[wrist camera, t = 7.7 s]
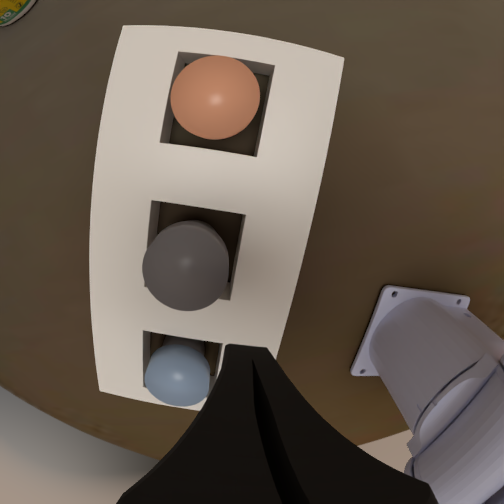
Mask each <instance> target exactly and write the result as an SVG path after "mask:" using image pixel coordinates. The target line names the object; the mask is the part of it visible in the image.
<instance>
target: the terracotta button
mask: <svg viewBox="0 0 504 504" xmlns="http://www.w3.org/2000/svg"><path fill="white" fill-rule="evenodd" d="M259 102H260V90H259V85H258V82H257V80H256V77H255V76H254V74H253V73H252V71H251V70H250V69H249V68H248V67H247V66H246V65H244V64H243V63H242V62H240V61H238V60H236V59H234V58H231V57H227V56H219V55H215V56H207V57H203V58H200V59H198V60H195V61H194V62H192V63H190V64H189V65H187V66H186V67H185V68H184V69H183V70H182V71H181V72H180V73H179V75H178V76H177V78H176V79H175V81H174V84H173V86H172V90H171V107H172V111H173V114H174V116H175V118H176V119H177V121H178V122H179V123H180V125H181V126H182V127H183V128H185V129H186V130H187V131H189V132H190V133H192V134H194V135H196V136H199V137H202V138H205V139H211V140H220V139H226V138H229V137H232V136H234V135H236V134H238V133H240V132H241V131H242V130H244V129H245V128H246V127H247V126H248V124H249V123H250V122H251V120H252V119H253V117H254V116H255V114H256V112H257V109H258V106H259Z"/></svg>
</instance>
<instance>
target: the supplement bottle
mask: <svg viewBox="0 0 504 504" xmlns="http://www.w3.org/2000/svg"><path fill="white" fill-rule="evenodd" d="M35 2H36V0H0V26H6V25H9V24H11V23H13V22H14V21H16V20H17V19H19V18H20V17H22V16H23V15H24V14H25V13H26V12H27V11H28V10H29V9H30V8H31V7H32V6H33V4H34V3H35Z"/></svg>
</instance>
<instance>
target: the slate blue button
mask: <svg viewBox="0 0 504 504" xmlns="http://www.w3.org/2000/svg"><path fill="white" fill-rule="evenodd" d="M204 352H205V345H204V342H203V341H202V340H197V339H190V338H184V337H178V336H172V335H167V336H166V337H165V339H164V342H163V345H162V347H160V348H159V349H157V350H156V351H155V352H154V353H153V354H152V356H151V358H150V361H149V364H148V367H147V370H146V373H145V384H146V387H147V389H148V390H149V392H150V393H151V394H152V395H153V396H154V397H155V398H157V399H158V400H160V401H162V402H164V403H166V404H169V405H173V406H180V407H185V406H192V405H195V404H197V403H199V402H201V401H202V400H203V399H204V398H205V397H206V396H207V394H208V391H209V380H210V366H209V363H208V361H207V360H206V358H205V357H204Z"/></svg>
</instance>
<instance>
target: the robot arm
mask: <svg viewBox="0 0 504 504" xmlns="http://www.w3.org/2000/svg"><path fill="white" fill-rule="evenodd" d="M394 291H395V294H394V295H392V293H393V292H394ZM469 302H470V298H469V297H468V296H466V295H459V294H451V293H443V292H436V291H428V290H421V289H414V288H406V287H399V286H392V285H387V286H385V287H384V288H383V289H382V291H381V293H380V296H379V299H378V302H377V305H376V307H375V310H374V313H373V315H372V318H371V321H370V323H369V326H368V328H367V331H366V333H365V336H364V338H363V341H362V343H361V346H360V348H359V351H358V353H357V355H356V358H355V360H354V362H353V365H352V367H351V369H350V371H351V374H352V375H353V376H380V377H381V379H382V381H383V382H384V384H385V386H386V387H387V389H388V391H389V393H390V394H391V396H392V398H393V400H394V401H395V403H396V405H397V407H398V408H399V410H400V412H401V414H402V415H403V417H404V419H405V421H406V423H407V424H408V426H409V428H410V430H411V432H412V433H413V435H414V436H413V437H412V439H411V440H410V441H409V442H408V443H407V446H408V448H409V450H410V452H411V454H412V456H413V457H412V458H410V460H409V461H408V462H407V464H406V466H405V470H404V473H402V472H400V471H398V470H396V469H393V468H392V467H390V466H388V465H386V464H384V463H383V462H381V461H379V460H377V459H376V458H374V457H372V456H371V455H369V454H368V453H366V452H365V451H363V450H362V449H360V448H359V447H357V446H356V445H355V444H353V443H352V442H350V441H349V440H348V439H346V438H345V437H344V436H343V435H341V434H340V433H339V432H338V431H337V430H336V429H334V428H333V427H332V426H331V425H330V424H329V423H328V422H327V421H325V420H324V419H323V418H322V417H321V416H320V415H319V414H318V413H317V412H316V411H315V410H314V409H313V407H312V406H311V405H310V404H309V403H308V402H307V401H306V400H305V398H304V397H303V396H302V395H301V394H300V392H299V391H298V390H297V389H296V387H295V386H294V385H293V384H292V382H291V381H290V380H289V378H288V377H287V376H286V374H285V373H284V371H283V370H282V368H281V367H280V366H279V364H278V363H277V361H276V360H275V358H274V357H273V355H272V354H271V352H270V351H269V350H268V348H267V347H258V346H248V345H239V344H231V343H229V344H227V345H226V346H225V349H224V355H223V360H222V366H221V370H220V372H219V375H218V377H217V380H216V382H215V384H214V386H213V388H212V390H211V392H210V394H209V396H208V398H207V400H206V402H205V403H204V405H203V407H202V408H201V410H200V412H199V413H198V415H197V416H196V418H195V419H194V421H193V422H192V424H191V425H190V426H189V428H188V429H187V430H186V432H185V433H184V434H183V435H182V437H181V438H180V439H179V441H178V442H177V443H176V444H175V445H174V447H173V448H172V449H171V450H170V451H169V452H168V453H167V454H166V455H165V456H164V457H163V458H162V459H161V460H160V461H159V462H158V464H156V465H155V467H154V468H153V469H151V470H150V471H149V472H148V473H147V474H146V475H145V476H144V477H142V478H141V479H140V480H139V481H138V482H137V483H135V484H134V485H133V486H132V487H131V488H129V489H128V490H127V491H126V492H124V493H123V494H122V496H121V497H120V499H119V500H118V502H117V503H116V504H504V341H503V340H502V339H501V338H500V337H499V336H498V335H497V334H496V333H494V332H493V331H492V330H491V329H490V328H489V327H488V326H486V325H485V324H484V323H483V322H482V321H481V320H479V319H478V318H477V317H476V316H475V315H473V314H472V313H471V312H470V311H469V310H467V307H468V305H469ZM362 369H363V370H362ZM361 370H362V371H361Z"/></svg>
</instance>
